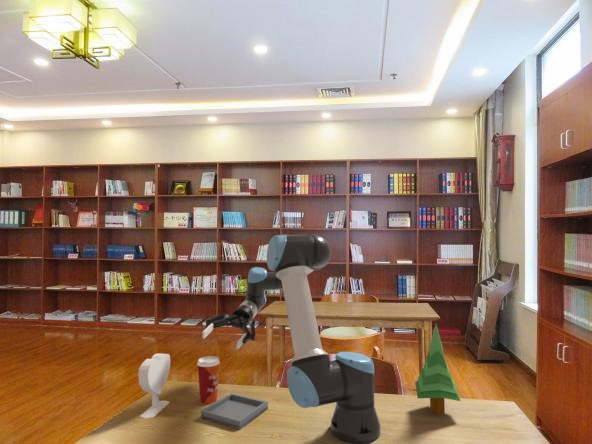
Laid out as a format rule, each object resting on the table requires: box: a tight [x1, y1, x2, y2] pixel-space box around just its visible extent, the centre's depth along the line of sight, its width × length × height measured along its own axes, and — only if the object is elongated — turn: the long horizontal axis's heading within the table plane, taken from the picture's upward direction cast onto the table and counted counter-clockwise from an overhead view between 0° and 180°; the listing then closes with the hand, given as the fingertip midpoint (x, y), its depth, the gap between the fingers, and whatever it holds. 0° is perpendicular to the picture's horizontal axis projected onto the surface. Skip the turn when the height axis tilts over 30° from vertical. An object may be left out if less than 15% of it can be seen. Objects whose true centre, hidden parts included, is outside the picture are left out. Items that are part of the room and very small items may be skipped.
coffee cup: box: [196, 355, 221, 405], centre depth 147 cm, size 8×8×15 cm
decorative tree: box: [414, 323, 462, 416], centre depth 137 cm, size 14×16×30 cm
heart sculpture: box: [137, 353, 171, 419], centre depth 141 cm, size 16×5×18 cm, turn 170°
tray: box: [200, 392, 269, 430], centre depth 137 cm, size 16×16×2 cm
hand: (220, 340), depth 144 cm, fingers open, 13 cm apart
